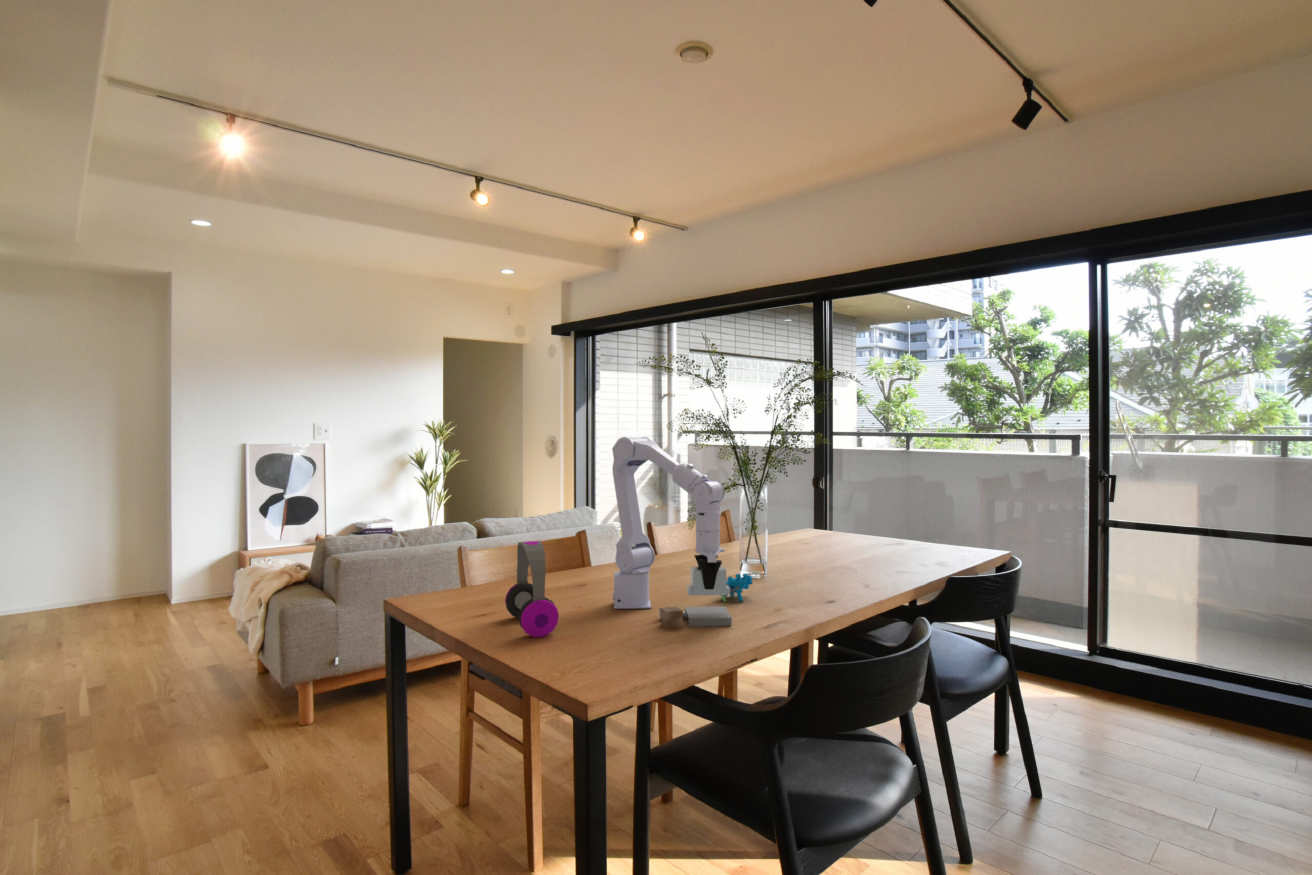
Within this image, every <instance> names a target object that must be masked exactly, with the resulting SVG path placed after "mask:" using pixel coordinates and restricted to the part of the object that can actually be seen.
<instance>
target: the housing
mask: <svg viewBox="0 0 1312 875" xmlns="http://www.w3.org/2000/svg"><path fill="white" fill-rule="evenodd" d="M726 581H727V568H725V567H724V565H721V566H720V568H719V570H718V573H717V576H716V581H715V586H714V589H705V588H704V583H703V576H702V571H701V568H700V567H698V566H690V585H686V592H687V595H688V596H720V595H727V596H728V595H730V587H729V586H728V585H726ZM730 596H731V595H730Z"/></svg>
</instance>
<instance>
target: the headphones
mask: <svg viewBox="0 0 1312 875" xmlns="http://www.w3.org/2000/svg"><path fill="white" fill-rule="evenodd" d="M516 554H517V563H516V583H515V584H513V585H512V586H511V587H510V588H509V589H508V591H507V593H506V595H505V599H504V602H505V606H506V607H505V608H506V610H507V611H508V612H509V614H510V615H511V616H512V617H514V618H515V619H518V621H519V622H518V623H519V626H520V628H521V629H522V630H523V632H524V633H526V634H527V635H529V636H530V637H532V638H543V637H547V636H548V635H550V633H552V632H553V631H554V630H555V628H556V627H557V626H558V624H559V623H558V622H559V618H560V615H559V610H558V608H557V606H556V604H555V603H554V602H553V601H552V600H551V599H550V598H548V597H546V594H545V592H546V569H547V568H546V552H545V547H544V545H543V542H542V541H541V540H533V541H532V540H531V541H518V543H517V549H516ZM529 568H530V571H531V579H532V580H531V581H532V583H530V582H529V581H528V574H529Z"/></svg>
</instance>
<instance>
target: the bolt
mask: <svg viewBox="0 0 1312 875" xmlns="http://www.w3.org/2000/svg"><path fill="white" fill-rule="evenodd" d="M661 608H662V607H659V617H658V618H659V621H661ZM684 620H686V617H685V611H683V621H684Z"/></svg>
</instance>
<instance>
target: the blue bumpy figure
mask: <svg viewBox="0 0 1312 875" xmlns="http://www.w3.org/2000/svg"><path fill="white" fill-rule="evenodd" d="M734 576H735V578H734V577H732V576H731V575H730V576H729V577H726V585H728V586H729V587H730V597H734V596H735V595H737V597H738V600H739V602H743V601H744V598H743V596H742V593H743V590H748V589H749V588H750V585H753V581H752V580H753V576H752V575H748V573H743V574H742V576H741V573H737V574H735V575H734ZM719 596H721V599H722V600H723V603H727V598H726V597H727V596H728V595H719Z"/></svg>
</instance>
